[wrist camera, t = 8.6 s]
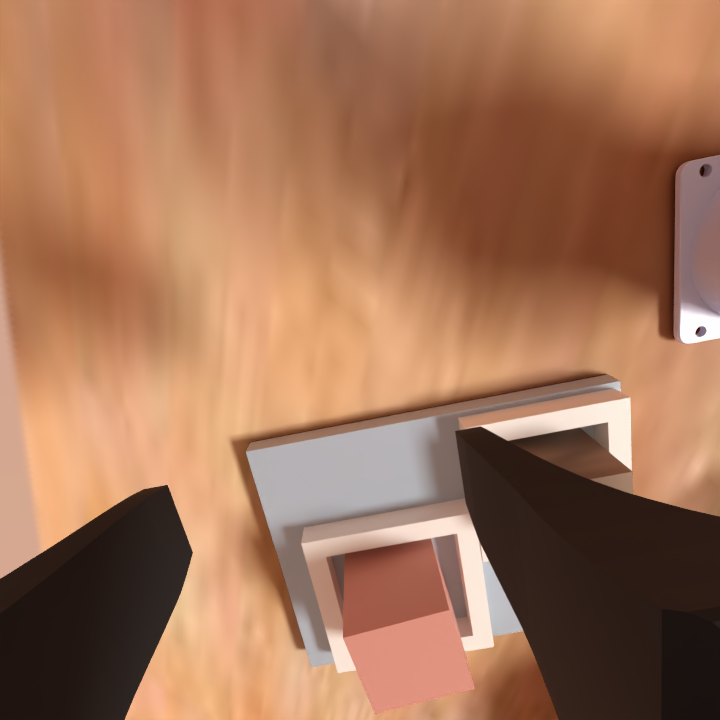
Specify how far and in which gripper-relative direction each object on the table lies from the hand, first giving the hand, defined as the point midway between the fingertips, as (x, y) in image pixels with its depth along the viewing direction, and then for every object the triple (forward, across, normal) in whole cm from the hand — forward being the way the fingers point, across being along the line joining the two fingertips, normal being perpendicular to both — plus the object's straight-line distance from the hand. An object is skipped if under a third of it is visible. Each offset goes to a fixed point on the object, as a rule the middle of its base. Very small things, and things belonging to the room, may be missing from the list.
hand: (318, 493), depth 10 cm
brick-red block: (+9, -1, +12) cm, 15 cm away
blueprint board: (+10, -4, +10) cm, 15 cm away
